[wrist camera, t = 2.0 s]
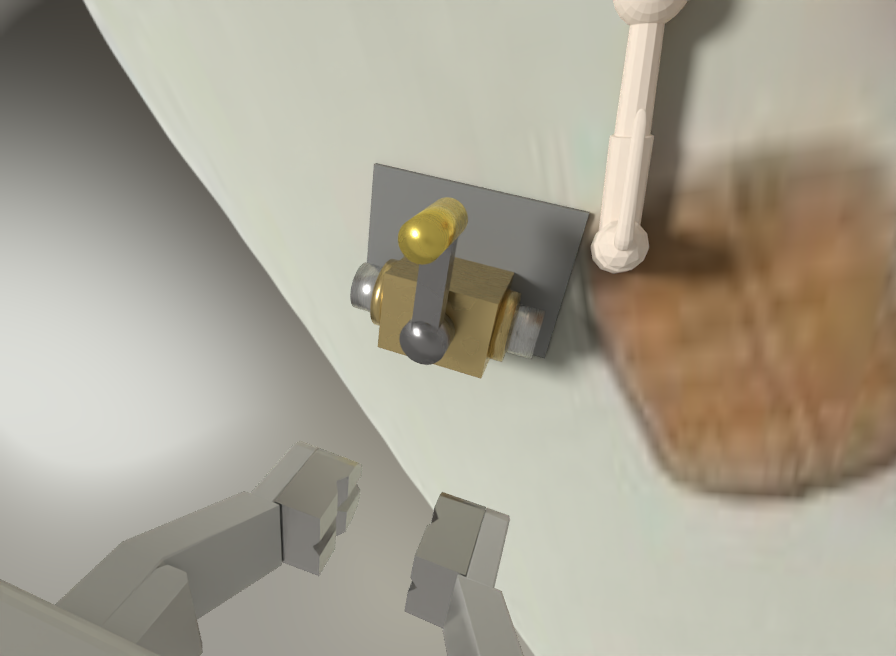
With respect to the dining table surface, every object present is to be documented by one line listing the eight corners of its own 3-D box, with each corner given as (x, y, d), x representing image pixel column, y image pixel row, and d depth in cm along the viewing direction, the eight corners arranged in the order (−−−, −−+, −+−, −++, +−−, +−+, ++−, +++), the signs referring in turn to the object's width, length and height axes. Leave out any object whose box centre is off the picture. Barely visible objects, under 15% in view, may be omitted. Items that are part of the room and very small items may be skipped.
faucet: (680, -7, 30) (721, -131, 20) (643, 275, 32) (664, 279, 23) (612, -2, 31) (622, -117, 21) (582, 270, 34) (579, 273, 24)
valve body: (553, 282, 35) (543, 316, 30) (534, 349, 38) (522, 391, 33) (380, 237, 38) (344, 262, 33) (374, 303, 41) (341, 335, 36)
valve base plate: (589, 212, 33) (589, 213, 32) (545, 355, 38) (544, 358, 38) (376, 163, 35) (373, 164, 35) (365, 303, 41) (363, 305, 41)
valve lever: (451, 354, 33) (425, 398, 28) (409, 341, 34) (376, 383, 29) (479, 202, 28) (453, 226, 23) (428, 190, 28) (392, 211, 24)
